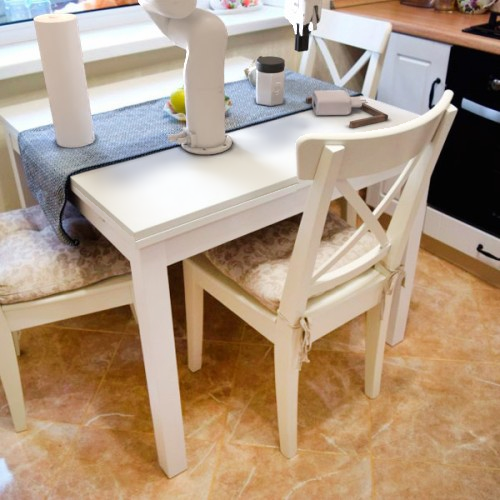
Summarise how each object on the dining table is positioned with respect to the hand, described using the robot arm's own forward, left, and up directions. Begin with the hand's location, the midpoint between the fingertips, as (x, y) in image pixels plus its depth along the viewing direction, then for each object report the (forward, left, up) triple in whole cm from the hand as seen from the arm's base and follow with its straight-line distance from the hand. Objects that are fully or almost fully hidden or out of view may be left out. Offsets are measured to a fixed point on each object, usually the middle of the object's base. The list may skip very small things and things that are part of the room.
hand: (301, 50), depth 151 cm
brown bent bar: (+16, 0, -19) cm, 25 cm away
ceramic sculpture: (+7, +33, -19) cm, 39 cm away
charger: (+15, +1, -19) cm, 24 cm away
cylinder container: (-57, +15, -19) cm, 62 cm away
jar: (+1, +17, -19) cm, 26 cm away
